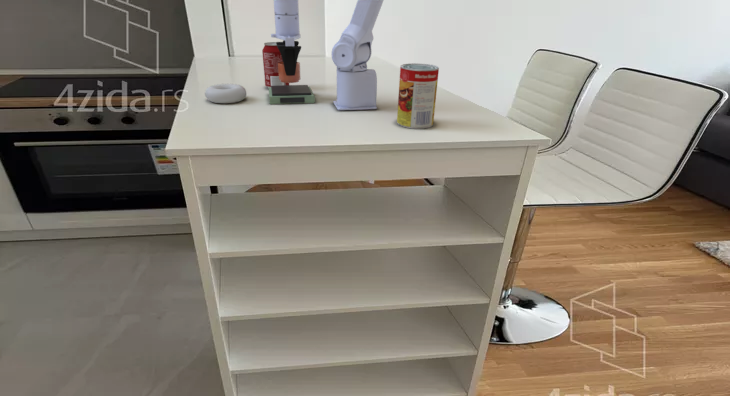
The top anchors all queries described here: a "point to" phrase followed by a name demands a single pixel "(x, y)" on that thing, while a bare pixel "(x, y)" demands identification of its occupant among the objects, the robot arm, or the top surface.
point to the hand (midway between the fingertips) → (289, 73)
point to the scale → (291, 94)
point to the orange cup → (288, 79)
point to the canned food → (417, 95)
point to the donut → (225, 93)
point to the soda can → (271, 64)
